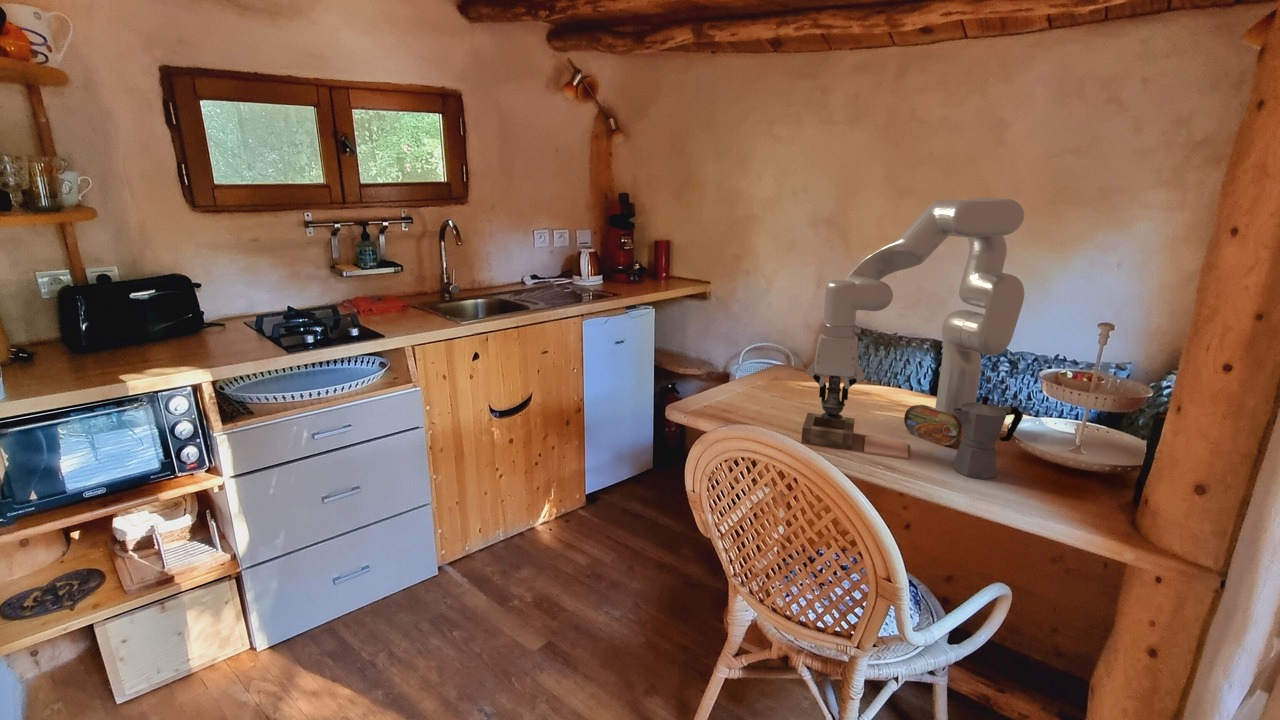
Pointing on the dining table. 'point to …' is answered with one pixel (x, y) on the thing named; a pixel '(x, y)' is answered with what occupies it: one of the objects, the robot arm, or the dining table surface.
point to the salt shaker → (833, 400)
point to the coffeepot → (982, 437)
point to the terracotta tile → (886, 447)
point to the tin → (933, 424)
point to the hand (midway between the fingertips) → (833, 400)
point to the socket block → (828, 431)
